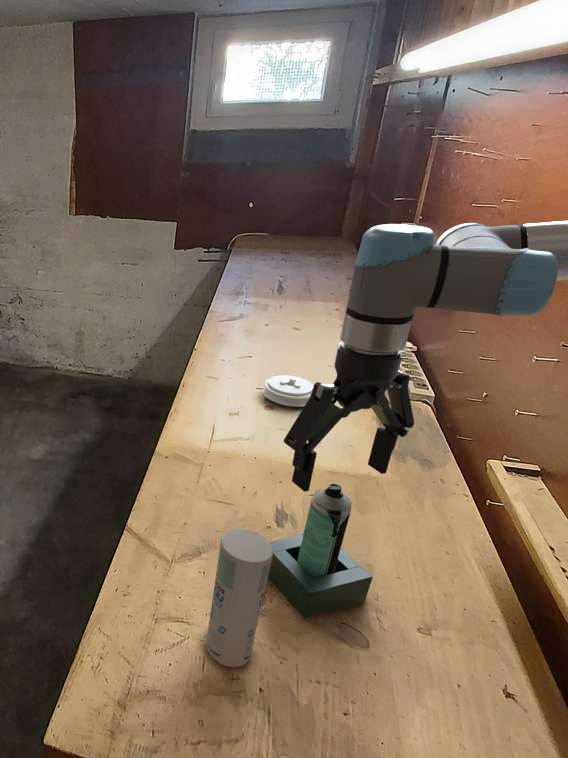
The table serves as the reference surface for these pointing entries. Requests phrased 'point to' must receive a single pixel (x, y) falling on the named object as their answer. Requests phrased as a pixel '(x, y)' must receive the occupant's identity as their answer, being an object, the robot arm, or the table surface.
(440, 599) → the table surface
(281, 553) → the holder
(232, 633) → the spray can
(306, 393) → the lid
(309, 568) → the spray can
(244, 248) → the table surface
